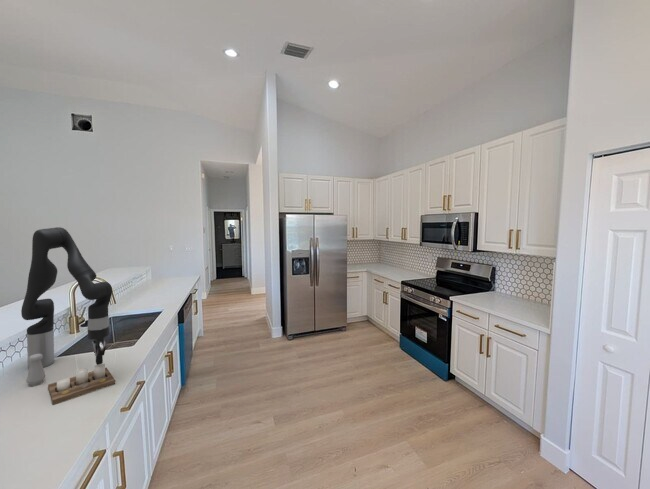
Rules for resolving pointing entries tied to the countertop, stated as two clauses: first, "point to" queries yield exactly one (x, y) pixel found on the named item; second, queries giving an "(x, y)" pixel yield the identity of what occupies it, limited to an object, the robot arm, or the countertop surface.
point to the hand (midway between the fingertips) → (99, 363)
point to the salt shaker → (35, 370)
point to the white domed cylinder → (63, 384)
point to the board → (80, 387)
